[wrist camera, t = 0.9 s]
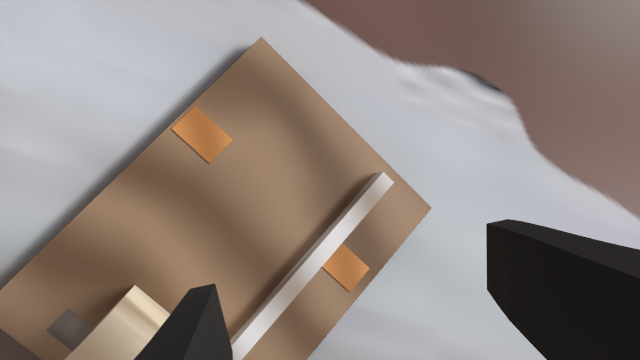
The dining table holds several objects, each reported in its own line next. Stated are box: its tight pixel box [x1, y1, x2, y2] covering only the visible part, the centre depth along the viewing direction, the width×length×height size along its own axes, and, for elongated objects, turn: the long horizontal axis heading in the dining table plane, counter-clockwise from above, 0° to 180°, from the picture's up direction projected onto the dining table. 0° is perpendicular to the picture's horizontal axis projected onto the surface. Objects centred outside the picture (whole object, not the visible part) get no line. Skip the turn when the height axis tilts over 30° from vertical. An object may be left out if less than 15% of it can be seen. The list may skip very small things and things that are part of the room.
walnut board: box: [0, 37, 431, 360], centre depth 25 cm, size 22×16×3 cm
